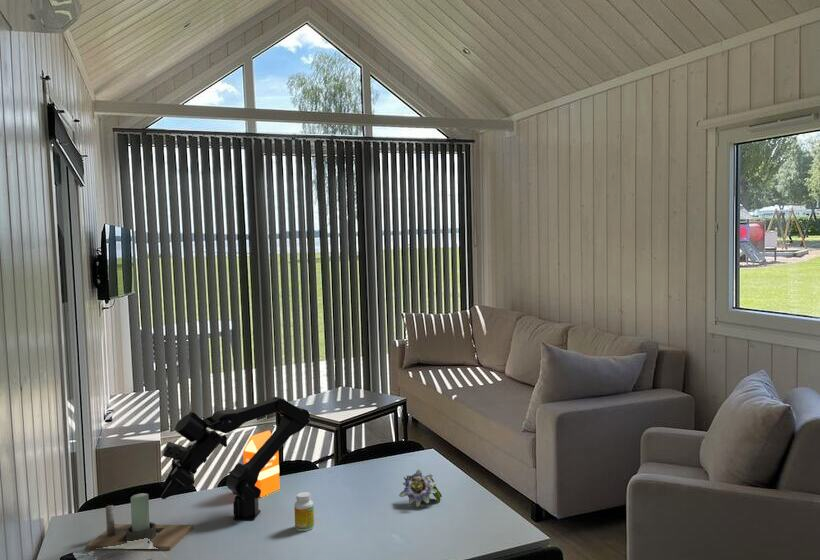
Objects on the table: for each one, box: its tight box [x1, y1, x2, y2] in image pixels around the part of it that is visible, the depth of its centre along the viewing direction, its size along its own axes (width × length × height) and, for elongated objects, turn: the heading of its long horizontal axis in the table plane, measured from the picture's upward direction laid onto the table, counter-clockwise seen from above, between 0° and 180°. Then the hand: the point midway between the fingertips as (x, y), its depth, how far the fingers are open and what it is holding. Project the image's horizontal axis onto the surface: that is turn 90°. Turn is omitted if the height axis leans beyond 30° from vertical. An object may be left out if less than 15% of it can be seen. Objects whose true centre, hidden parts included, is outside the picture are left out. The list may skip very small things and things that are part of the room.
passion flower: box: [399, 468, 443, 508], centre depth 199 cm, size 11×11×12 cm
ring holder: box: [85, 504, 194, 551], centre depth 178 cm, size 24×14×9 cm, turn 85°
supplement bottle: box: [293, 491, 315, 532], centre depth 182 cm, size 5×5×10 cm
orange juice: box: [242, 430, 281, 498], centre depth 212 cm, size 8×9×20 cm
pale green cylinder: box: [130, 492, 151, 533], centre depth 178 cm, size 5×5×12 cm
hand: (162, 492), depth 180 cm, fingers open, 9 cm apart
